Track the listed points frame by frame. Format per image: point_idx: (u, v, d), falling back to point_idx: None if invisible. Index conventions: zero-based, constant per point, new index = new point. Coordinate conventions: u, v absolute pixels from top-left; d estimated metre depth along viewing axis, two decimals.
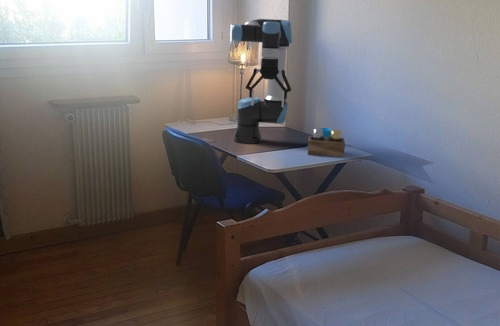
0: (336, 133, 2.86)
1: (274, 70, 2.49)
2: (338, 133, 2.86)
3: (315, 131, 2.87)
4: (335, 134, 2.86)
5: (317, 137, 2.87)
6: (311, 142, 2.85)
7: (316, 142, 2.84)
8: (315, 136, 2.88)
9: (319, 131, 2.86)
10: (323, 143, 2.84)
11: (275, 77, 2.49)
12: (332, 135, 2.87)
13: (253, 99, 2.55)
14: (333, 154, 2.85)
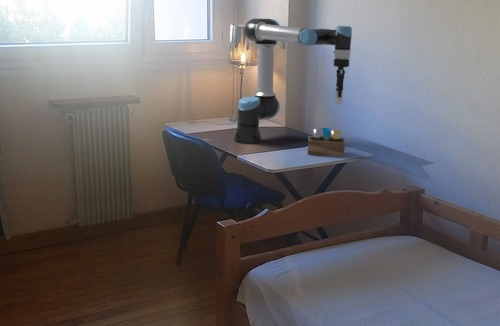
0: (336, 133, 2.86)
1: (338, 69, 2.77)
2: (338, 133, 2.86)
3: (315, 131, 2.87)
4: (335, 134, 2.86)
5: (317, 137, 2.87)
6: (311, 142, 2.85)
7: (316, 142, 2.84)
8: (315, 136, 2.88)
9: (319, 131, 2.86)
10: (323, 143, 2.84)
11: (337, 75, 2.78)
12: (332, 135, 2.87)
13: None
14: (333, 154, 2.85)
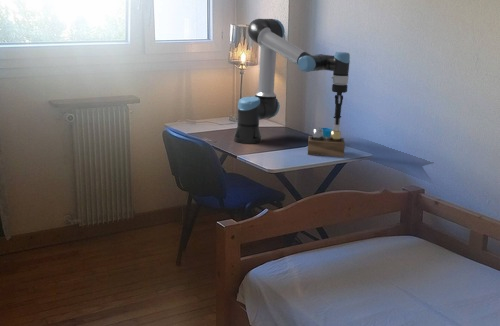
0: (336, 134, 2.86)
1: (337, 94, 2.80)
2: (338, 134, 2.86)
3: (315, 131, 2.87)
4: (335, 135, 2.86)
5: (317, 137, 2.87)
6: (311, 142, 2.85)
7: (316, 142, 2.84)
8: (315, 136, 2.88)
9: (319, 131, 2.86)
10: (323, 143, 2.84)
11: (335, 101, 2.83)
12: (332, 136, 2.87)
13: None
14: (333, 154, 2.85)
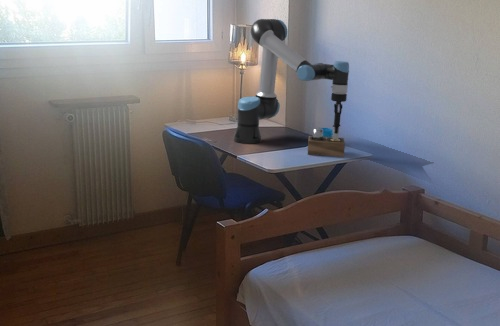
0: None
1: (336, 103, 2.81)
2: None
3: (315, 131, 2.87)
4: None
5: (317, 137, 2.87)
6: (311, 142, 2.85)
7: (316, 142, 2.84)
8: (315, 136, 2.88)
9: (319, 131, 2.86)
10: (323, 143, 2.84)
11: (334, 110, 2.84)
12: None
13: None
14: (333, 154, 2.85)
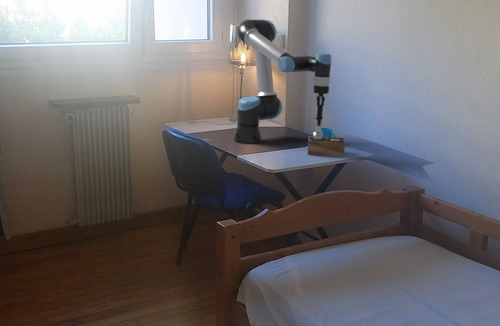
0: None
1: None
2: None
3: (315, 134, 2.87)
4: None
5: None
6: (311, 142, 2.85)
7: (316, 142, 2.84)
8: (315, 139, 2.88)
9: (319, 134, 2.87)
10: (323, 143, 2.84)
11: None
12: None
13: None
14: (333, 154, 2.85)
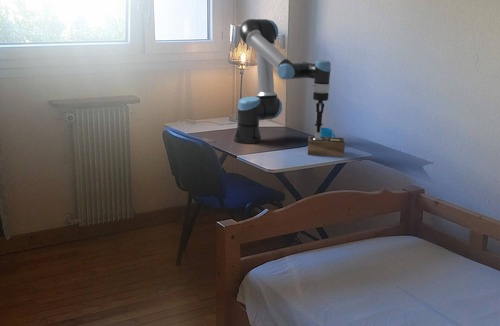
0: None
1: (318, 102, 2.82)
2: None
3: None
4: None
5: None
6: (311, 142, 2.85)
7: (316, 142, 2.84)
8: None
9: None
10: (323, 143, 2.84)
11: (316, 109, 2.85)
12: None
13: None
14: (333, 154, 2.85)
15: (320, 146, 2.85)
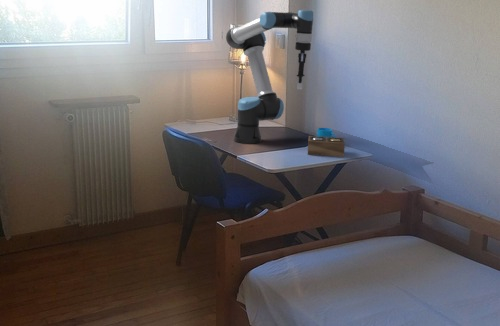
0: None
1: (300, 52, 2.82)
2: None
3: None
4: None
5: None
6: (311, 142, 2.85)
7: (316, 142, 2.84)
8: None
9: None
10: (323, 143, 2.84)
11: (298, 60, 2.84)
12: None
13: None
14: (333, 154, 2.85)
15: (320, 146, 2.85)
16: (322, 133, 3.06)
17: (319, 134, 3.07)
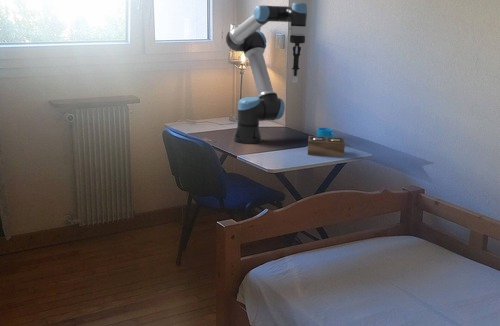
0: None
1: None
2: None
3: None
4: None
5: None
6: (311, 142, 2.85)
7: (316, 142, 2.84)
8: None
9: None
10: (323, 143, 2.84)
11: (293, 53, 2.85)
12: None
13: None
14: (333, 154, 2.85)
15: (320, 146, 2.85)
16: (322, 133, 3.06)
17: (319, 134, 3.07)
